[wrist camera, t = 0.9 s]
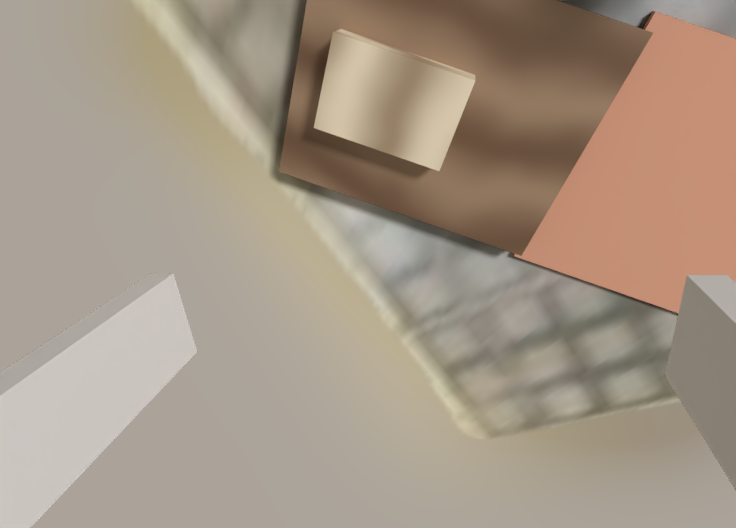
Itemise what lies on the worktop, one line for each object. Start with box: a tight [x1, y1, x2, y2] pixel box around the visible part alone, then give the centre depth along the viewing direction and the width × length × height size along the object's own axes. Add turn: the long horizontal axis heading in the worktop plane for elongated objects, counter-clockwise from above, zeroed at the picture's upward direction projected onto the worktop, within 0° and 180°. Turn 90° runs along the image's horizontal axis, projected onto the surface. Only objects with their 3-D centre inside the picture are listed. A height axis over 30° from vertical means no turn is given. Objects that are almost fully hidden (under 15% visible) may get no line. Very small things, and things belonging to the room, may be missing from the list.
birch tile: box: [314, 29, 475, 171], centre depth 28 cm, size 9×6×2 cm, turn 74°
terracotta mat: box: [514, 11, 736, 313], centre depth 30 cm, size 18×16×1 cm
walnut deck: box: [279, 0, 653, 256], centre depth 30 cm, size 16×20×2 cm
